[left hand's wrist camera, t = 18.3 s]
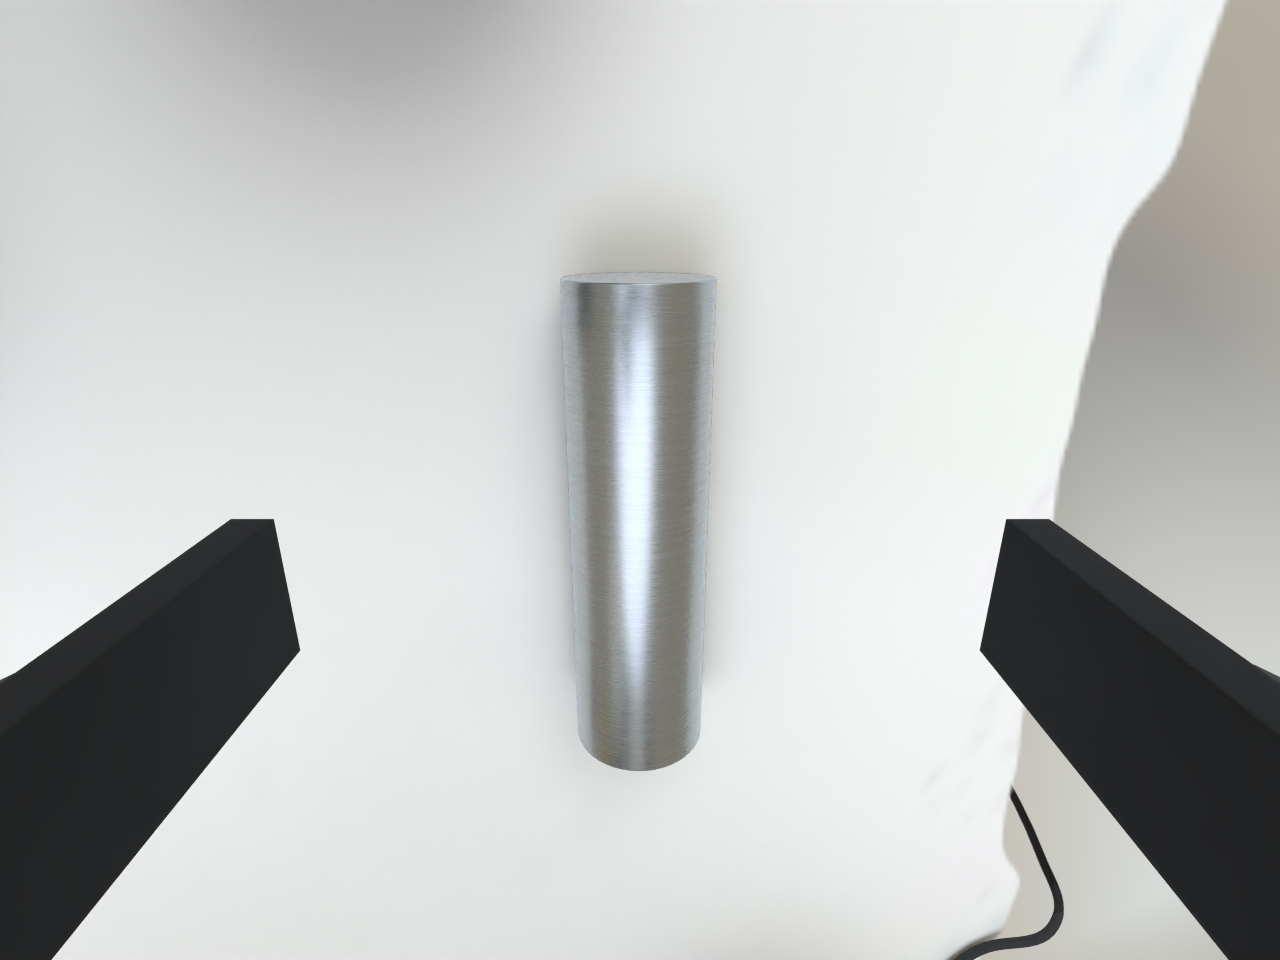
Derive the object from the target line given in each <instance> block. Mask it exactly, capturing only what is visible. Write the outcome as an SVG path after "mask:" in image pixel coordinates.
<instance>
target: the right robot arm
mask: <svg viewBox="0 0 1280 960" xmlns="http://www.w3.org/2000/svg"><path fill="white" fill-rule="evenodd" d="M1009 797H1010V799H1011V801H1012V803H1013V804H1014V806H1015V809H1016V811H1017V813H1018V815H1019V817H1020V819H1021V821H1022V823H1023V826H1024V828H1025V830H1026V832H1027V835H1028V837H1029V840H1030V842H1031V845H1032V847H1033V849H1034V852H1035V854H1036V857H1037V859H1038V862H1039V864H1040V867H1041V869H1042V871H1043V873H1044V875H1045V877H1046V880H1047V882H1048V884H1049V887H1050V889H1051V892H1052V896H1053V900H1054V911H1053V915H1052V917H1051V919H1050V921H1049V923H1048V924H1047V925H1046V927H1044V928H1043V929H1042V930H1041V931H1039V932H1037V933H1034V934H1032V935H1027V936H1022V937H1012V938H1003V939H996V940H990V941H987V942H983V943H981V944H978V945H976V946H974V947H972V948H970V949H968V950H967V951H965V952H964V953H962V954H961V955H960V956H958V957H957V958H956V959H955V960H974V959H976V958H977V957H979V956H981V955H984V954H986V953H989V952H993V951H997V950H1003V949H1013V948H1024V947H1030V946H1035V945H1038V944H1041V943H1044V942H1045V941H1047V940H1049V939H1050V938H1051V937H1052V936H1053V935H1054V934H1055V933H1056V932H1057V930H1058V929H1059V927H1060V925H1061V923H1062V919H1063V914H1064V902H1063V897H1062V894H1061V890H1060V888H1059V885H1058V883H1057V880H1056V878H1055V876H1054V874H1053V872H1052V870H1051V868H1050V865H1049V863H1048V861H1047V858H1046V856H1045V854H1044V851H1043V849H1042V847H1041V844H1040V842H1039V839H1038V837H1037V835H1036V832H1035V830H1034V828H1033V826H1032V823H1031V821H1030V819H1029V817H1028V815H1027V813H1026V811H1025V809H1024V807H1023V805H1022V803H1021V801H1020V799H1019V797H1018V795H1017V793H1016V792H1015V790H1014V788H1013V786H1011V789H1010V794H1009Z"/></svg>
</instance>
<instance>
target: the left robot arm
mask: <svg viewBox="0 0 1280 960" xmlns="http://www.w3.org/2000/svg"><path fill="white" fill-rule="evenodd" d="M299 651H300V647H299V642H298V637H297V632H296V627H295V622H294V617H293V612H292V607H291V602H290V597H289V593H288V588H287V583H286V578H285V573H284V568H283V563H282V558H281V553H280V548H279V543H278V538H277V533H276V528H275V523H274V519H231V520H229V521H228V522H226V523H225V524H224V525H222V526H221V527H219V528H218V529H217V530H215V531H214V532H212V533H211V534H209V535H208V536H207V537H205V538H204V539H202V540H201V541H200V542H198V543H197V544H195V545H194V546H193V547H191V548H190V549H188V550H187V551H186V552H184V553H183V554H181V555H180V556H179V557H177V558H176V559H174V560H173V561H172V562H170V563H169V564H167V565H166V566H165V567H163V568H162V569H160V570H159V571H158V572H156V573H155V574H153V575H152V576H151V577H149V578H148V579H146V580H145V581H144V582H142V583H141V584H139V585H138V586H137V587H135V588H134V589H132V590H131V591H130V592H128V593H127V594H125V595H124V596H123V597H121V598H120V599H118V600H117V601H116V602H114V603H113V604H111V605H110V606H109V607H107V608H106V609H104V610H103V611H101V612H100V613H99V614H97V615H96V616H94V617H93V618H92V619H90V620H89V621H87V622H86V623H85V624H83V625H82V626H80V627H79V628H78V629H76V630H75V631H73V632H72V633H71V634H69V635H68V636H66V637H65V638H64V639H62V640H61V641H59V642H58V643H57V644H55V645H54V646H52V647H51V648H50V649H48V650H47V651H45V652H44V653H43V654H41V655H40V656H38V657H37V658H36V659H34V660H33V661H31V662H30V663H29V664H27V665H26V666H24V667H23V668H22V669H20V670H19V671H17V672H16V673H14V674H12V675H10V676H8V677H6V678H4V679H2V680H0V960H52V958H53V957H54V956H55V955H56V953H57V952H58V951H59V950H60V948H61V947H62V946H63V945H64V943H65V942H66V941H67V940H68V939H69V937H70V936H71V935H72V934H73V932H74V931H75V930H76V929H77V927H78V926H79V925H80V924H81V922H82V921H83V920H84V919H85V917H86V916H87V915H88V914H89V912H90V911H91V910H92V909H93V907H94V906H95V905H96V904H97V902H98V901H99V900H100V899H101V897H102V896H103V895H104V894H105V892H106V891H107V890H108V889H109V888H110V886H111V885H112V884H113V883H114V881H115V880H116V879H117V878H118V876H119V875H120V874H121V873H122V871H123V870H124V869H125V868H126V866H127V865H128V864H129V863H130V861H131V860H132V859H133V858H134V856H135V855H136V854H137V853H138V851H139V850H140V849H141V848H142V846H143V845H144V844H145V843H146V841H147V840H148V839H149V838H150V837H151V835H152V834H153V833H154V832H155V830H156V829H157V828H158V827H159V825H160V824H161V823H162V822H163V820H164V819H165V818H166V817H167V815H168V814H169V813H170V812H171V810H172V809H173V808H174V807H175V805H176V804H177V803H178V802H179V800H180V799H181V798H182V797H183V795H184V794H185V793H186V792H187V790H188V789H189V788H190V787H191V786H192V784H193V783H194V782H195V781H196V779H197V778H198V777H199V776H200V774H201V773H202V772H203V771H204V769H205V768H206V767H207V766H208V764H209V763H210V762H211V761H212V759H213V758H214V757H215V756H216V754H217V753H218V752H219V751H220V749H221V748H222V747H223V746H224V744H225V743H226V742H227V741H228V739H229V738H230V737H231V736H232V734H233V733H234V732H235V731H236V730H237V728H238V727H239V726H240V725H241V723H242V722H243V721H244V720H245V718H246V717H247V716H248V715H249V713H250V712H251V711H252V710H253V708H254V707H255V706H256V705H257V703H258V702H259V701H260V700H261V698H262V697H263V696H264V695H265V693H266V692H267V691H268V690H269V688H270V687H271V686H272V685H273V683H274V682H275V681H276V680H277V679H278V677H279V676H280V675H281V674H282V672H283V671H284V670H285V669H286V667H287V666H288V665H289V664H290V662H291V661H292V660H293V659H294V657H295V656H296V655H297V654H298V652H299ZM980 651H981V652H982V654H983V655H984V656H985V657H986V659H987V660H988V661H989V662H990V664H991V665H992V666H993V667H994V669H995V670H996V671H997V672H998V674H999V675H1000V676H1001V677H1002V679H1003V680H1004V681H1005V682H1006V683H1007V685H1008V686H1009V687H1010V688H1011V690H1012V691H1013V692H1014V693H1015V695H1016V696H1017V697H1018V698H1019V700H1020V701H1021V702H1022V703H1023V705H1024V706H1025V707H1026V708H1027V710H1028V711H1029V712H1030V713H1031V715H1032V716H1033V717H1034V718H1035V720H1036V721H1037V722H1038V723H1039V725H1040V726H1041V727H1042V728H1043V730H1044V731H1045V732H1046V733H1047V734H1048V736H1049V737H1050V738H1051V739H1052V741H1053V742H1054V743H1055V744H1056V746H1057V747H1058V748H1059V749H1060V751H1061V752H1062V753H1063V754H1064V756H1065V757H1066V758H1067V759H1068V761H1069V762H1070V763H1071V764H1072V766H1073V767H1074V768H1075V769H1076V771H1077V772H1078V773H1079V774H1080V776H1081V777H1082V778H1083V779H1084V781H1085V782H1086V783H1087V784H1088V785H1089V787H1090V788H1091V789H1092V790H1093V792H1094V793H1095V794H1096V795H1097V797H1098V798H1099V799H1100V800H1101V802H1102V803H1103V804H1104V805H1105V807H1106V808H1107V809H1108V810H1109V812H1110V813H1111V814H1112V815H1113V817H1114V818H1115V819H1116V820H1117V822H1118V823H1119V824H1120V825H1121V827H1122V828H1123V829H1124V830H1125V832H1126V833H1127V834H1128V835H1129V837H1130V838H1131V839H1132V840H1133V841H1134V843H1135V844H1136V845H1137V846H1138V848H1139V849H1140V850H1141V851H1142V853H1143V854H1144V855H1145V856H1146V858H1147V859H1148V860H1149V861H1150V863H1151V864H1152V865H1153V866H1154V868H1155V869H1156V870H1157V871H1158V873H1159V874H1160V875H1161V876H1162V878H1163V879H1164V880H1165V881H1166V882H1167V884H1168V885H1169V886H1170V888H1171V889H1172V890H1173V891H1174V892H1175V894H1176V895H1177V896H1178V897H1179V899H1180V900H1181V901H1182V902H1183V904H1184V905H1185V906H1186V907H1187V909H1188V910H1189V911H1190V912H1191V914H1192V915H1193V916H1194V917H1195V919H1196V920H1197V921H1198V922H1199V924H1200V925H1201V926H1202V927H1203V929H1204V930H1205V931H1206V932H1207V934H1208V935H1209V936H1210V937H1211V939H1212V940H1213V941H1214V942H1215V943H1216V945H1217V946H1218V947H1219V948H1220V950H1221V951H1222V952H1223V953H1224V955H1225V956H1226V957H1227V958H1228V960H1280V677H1278V676H1276V675H1274V674H1272V673H1270V672H1268V671H1266V670H1264V669H1262V668H1260V667H1258V666H1256V665H1253V664H1251V663H1250V662H1249V661H1247V660H1246V659H1244V658H1243V657H1242V656H1240V655H1239V654H1237V653H1236V652H1235V651H1233V650H1232V649H1230V648H1229V647H1228V646H1226V645H1225V644H1223V643H1222V642H1221V641H1219V640H1218V639H1216V638H1215V637H1214V636H1212V635H1211V634H1209V633H1208V632H1207V631H1205V630H1204V629H1202V628H1201V627H1200V626H1198V625H1197V624H1195V623H1194V622H1193V621H1191V620H1190V619H1188V618H1187V617H1186V616H1184V615H1183V614H1181V613H1180V612H1179V611H1177V610H1176V609H1174V608H1173V607H1171V606H1170V605H1169V604H1167V603H1166V602H1164V601H1163V600H1162V599H1160V598H1159V597H1157V596H1156V595H1155V594H1153V593H1152V592H1150V591H1149V590H1148V589H1146V588H1145V587H1143V586H1142V585H1141V584H1139V583H1138V582H1136V581H1135V580H1134V579H1132V578H1131V577H1129V576H1128V575H1127V574H1125V573H1124V572H1122V571H1121V570H1120V569H1118V568H1117V567H1115V566H1114V565H1113V564H1111V563H1110V562H1108V561H1107V560H1106V559H1104V558H1103V557H1101V556H1100V555H1099V554H1097V553H1096V552H1094V551H1093V550H1092V549H1090V548H1089V547H1087V546H1086V545H1085V544H1083V543H1082V542H1080V541H1079V540H1078V539H1076V538H1075V537H1073V536H1072V535H1070V534H1069V533H1068V532H1066V531H1065V530H1063V529H1062V528H1061V527H1059V526H1058V525H1056V524H1055V523H1054V522H1052V521H1051V520H1049V519H1006V523H1005V528H1004V533H1003V538H1002V543H1001V548H1000V553H999V558H998V563H997V568H996V573H995V578H994V583H993V588H992V593H991V597H990V602H989V607H988V612H987V617H986V622H985V627H984V632H983V637H982V642H981V647H980Z"/></svg>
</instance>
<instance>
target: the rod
mask: <svg viewBox="0 0 1280 960" xmlns="http://www.w3.org/2000/svg"><path fill="white" fill-rule="evenodd" d="M716 281H717V279H716V278H715V277H713V276H708V275H699V274H684V273H596V274H580V275H570V276H565V277H562V278H561V279H560V288H561V313H562V338H563V363H564V387H565V412H566V437H567V462H568V487H569V511H570V536H571V561H572V586H573V611H574V636H575V660H576V685H577V710H578V732H579V737H580V740H581V742H582V744H583V746H584V747H585V748H586V750H587V751H588V752H589V753H590V754H591V755H592V756H593V757H595V758H596V759H598V760H599V761H601V762H603V763H605V764H607V765H609V766H612V767H615V768H619V769H624V770H630V771H648V770H655V769H659V768H663V767H666V766H669V765H672V764H674V763H676V762H678V761H679V760H681V759H682V758H684V757H685V756H686V755H687V754H688V753H690V751H691V750H692V749H693V748H694V746H695V745H696V743H697V741H698V738H699V735H700V724H701V697H702V669H703V641H704V613H705V586H706V558H707V530H708V503H709V475H710V447H711V419H712V392H713V364H714V336H715V308H716Z"/></svg>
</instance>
